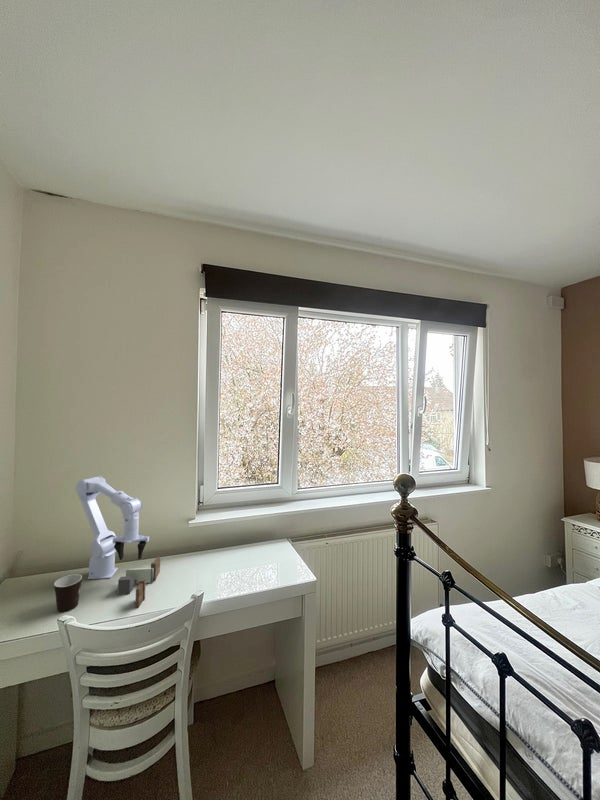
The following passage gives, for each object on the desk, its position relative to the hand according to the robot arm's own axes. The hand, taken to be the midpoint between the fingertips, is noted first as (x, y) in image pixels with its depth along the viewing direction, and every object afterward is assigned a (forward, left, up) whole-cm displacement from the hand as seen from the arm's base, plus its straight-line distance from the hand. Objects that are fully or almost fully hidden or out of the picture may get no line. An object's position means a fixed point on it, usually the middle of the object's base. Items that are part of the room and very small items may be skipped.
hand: (130, 558), depth 139 cm
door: (+5, -3, -9) cm, 11 cm away
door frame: (+10, -7, -9) cm, 15 cm away
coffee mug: (-16, -15, -10) cm, 24 cm away
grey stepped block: (+1, -7, -10) cm, 12 cm away
